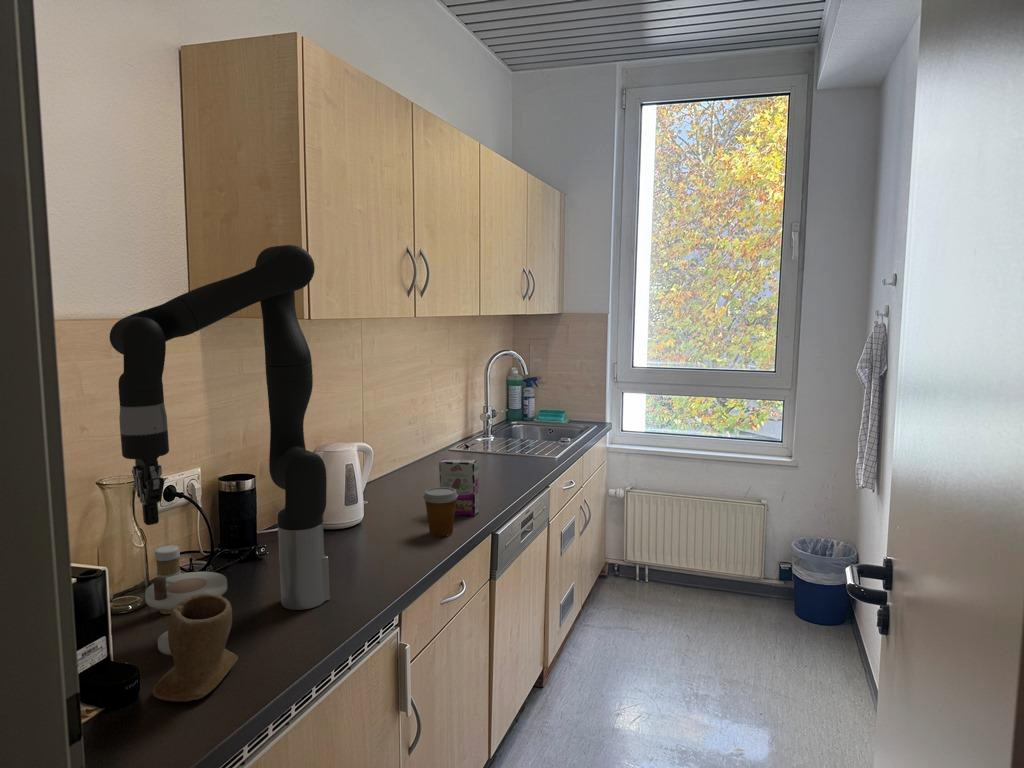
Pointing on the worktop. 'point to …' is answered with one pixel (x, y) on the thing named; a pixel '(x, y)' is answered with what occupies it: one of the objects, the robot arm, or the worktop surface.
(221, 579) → the turntable
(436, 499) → the disposable coffee cup
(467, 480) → the candy bar box
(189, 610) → the stone cup
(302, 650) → the worktop surface
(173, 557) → the sprinkles bottle
